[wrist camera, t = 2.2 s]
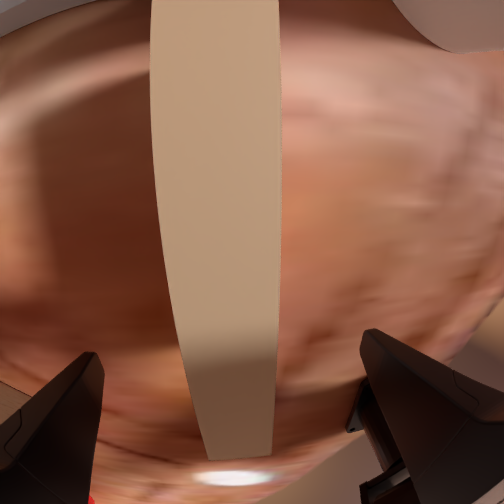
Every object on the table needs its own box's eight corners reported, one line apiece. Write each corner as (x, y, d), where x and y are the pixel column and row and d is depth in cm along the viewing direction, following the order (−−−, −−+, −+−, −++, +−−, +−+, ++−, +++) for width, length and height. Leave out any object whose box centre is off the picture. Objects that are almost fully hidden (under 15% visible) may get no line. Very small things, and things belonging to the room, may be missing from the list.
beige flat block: (183, 60, 10) (153, -13, 3) (240, 57, 10) (277, -17, 4) (204, 343, 15) (209, 460, 9) (247, 339, 15) (271, 454, 9)
